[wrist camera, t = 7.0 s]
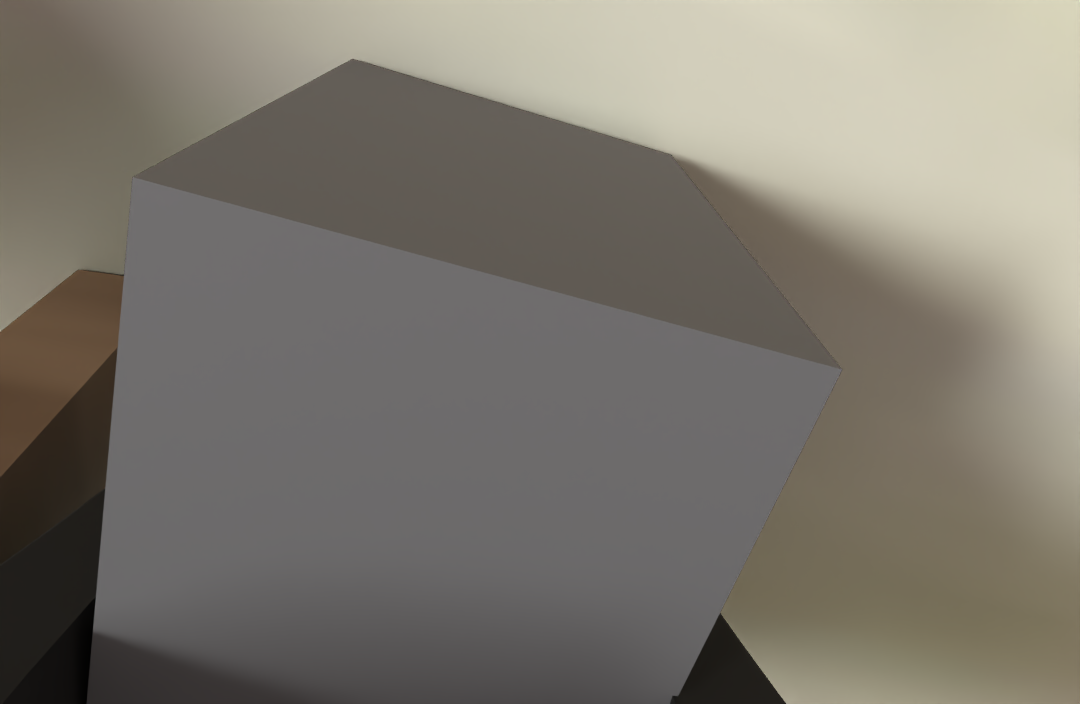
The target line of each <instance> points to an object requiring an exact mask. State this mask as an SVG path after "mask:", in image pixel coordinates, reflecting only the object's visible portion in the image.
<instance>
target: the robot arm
mask: <svg viewBox="0 0 1080 704" xmlns="http://www.w3.org/2000/svg"><path fill="white" fill-rule="evenodd" d="M104 499H105V488H104V489H103V490H102V491H100V492H99V493H98V494H96V495H95V496H94V497H92V498H91V499H90V500H88V501H87V502H86V503H84V504H83V505H82V506H80V507H79V508H78V509H76V510H75V511H74V512H72V513H71V514H69V515H68V516H67V517H65V518H64V519H63V520H61V521H60V522H59V523H57V524H56V525H55V526H53V527H52V528H50V529H49V530H48V531H46V532H45V533H44V534H42V535H41V536H40V537H38V538H37V539H35V540H34V541H33V542H31V543H30V544H29V545H27V546H26V547H24V548H23V549H22V550H20V551H19V552H17V553H16V554H14V555H13V556H12V557H10V558H9V559H7V560H6V561H5V562H3V563H2V564H0V704H87V693H88V682H89V670H90V659H91V647H92V636H93V624H94V613H95V602H96V590H97V579H98V567H99V556H100V544H101V533H102V521H103V510H104ZM670 704H786V703H785V701H784V700H783V699H782V698H781V696H780V695H779V694H778V692H777V691H776V689H775V688H774V687H773V685H772V684H771V683H770V681H769V680H768V679H767V677H766V676H765V674H764V673H763V672H762V670H761V669H760V668H759V666H758V665H757V664H756V662H755V661H754V660H753V658H752V657H751V655H750V654H749V653H748V651H747V650H746V649H745V647H744V646H743V645H742V643H741V642H740V640H739V639H738V638H737V636H736V635H735V633H734V632H733V631H732V629H731V628H730V626H729V625H728V623H727V622H726V621H725V619H724V618H723V616H722V615H721V613H720V614H719V616H718V618H717V620H716V622H715V624H714V626H713V628H712V630H711V632H710V634H709V636H708V638H707V640H706V642H705V644H704V646H703V648H702V650H701V652H700V654H699V656H698V658H697V660H696V662H695V664H694V666H693V668H692V670H691V672H690V674H689V676H688V678H687V680H686V682H685V684H684V686H683V688H682V689H681V691H680V693H679V695H678V696H672V699H671V702H670Z"/></svg>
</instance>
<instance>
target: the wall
mask: <svg viewBox="0 0 1080 704" xmlns="http://www.w3.org/2000/svg"><path fill="white" fill-rule="evenodd" d="M123 281H124V276H121V275H113V274H106V273H98V272H91V271H83V270H77V271H76V272H75V273H73V274H72V275H71V276H70V277H68V278H67V279H66V280H65V281H63V282H62V283H61V284H60V285H58V286H57V287H56V288H55V289H53V290H52V291H51V292H50V293H48V294H47V295H46V296H45V297H43V298H42V299H41V300H40V301H38V302H37V303H36V304H35V305H33V306H32V307H31V308H30V309H28V310H27V311H26V312H25V313H23V314H22V315H21V316H20V317H18V318H17V319H16V320H15V321H13V322H12V323H11V324H10V325H8V326H7V327H6V328H5V329H3V330H2V331H1V332H0V564H2V563H3V562H5V561H6V560H7V559H9V558H10V557H12V556H13V555H14V554H16V553H17V552H19V551H20V550H22V549H23V548H24V547H26V546H27V545H29V544H30V543H31V542H33V541H34V540H35V539H37V538H38V537H40V536H41V535H42V534H44V533H45V532H46V531H48V530H49V529H50V528H52V527H53V526H55V525H56V524H57V523H59V522H60V521H61V520H63V519H64V518H65V517H67V516H68V515H69V514H71V513H72V512H74V511H75V510H76V509H78V508H79V507H80V506H82V505H83V504H84V503H86V502H87V501H88V500H90V499H91V498H92V497H94V496H95V495H96V494H98V493H99V492H100V491H102V490H103V489H104V488H105V487H106V476H107V464H108V453H109V441H110V430H111V418H112V407H113V396H114V384H115V373H116V361H117V350H118V338H119V327H120V315H121V304H122V293H123Z"/></svg>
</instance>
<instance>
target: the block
mask: <svg viewBox="0 0 1080 704" xmlns="http://www.w3.org/2000/svg"><path fill="white" fill-rule="evenodd" d="M841 371H842V369H841V367H840V366H839V365H838V364H837V362H836V361H835V360H834V359H833V357H832V356H831V355H830V354H829V352H828V351H827V350H826V349H825V347H824V346H823V345H822V344H821V342H820V341H819V340H818V339H817V337H816V336H815V335H814V334H813V332H812V331H811V330H810V328H809V327H808V326H807V325H806V323H805V322H804V321H803V320H802V318H801V317H800V316H799V315H798V313H797V312H796V311H795V310H794V308H793V307H792V306H791V305H790V303H789V302H788V301H787V300H786V298H785V297H784V296H783V295H782V293H781V292H780V291H779V290H778V288H777V287H776V286H775V285H774V283H773V282H772V281H771V280H770V278H769V277H768V276H767V275H766V273H765V272H764V271H763V270H762V268H761V267H760V266H759V265H758V263H757V262H756V261H755V259H754V258H753V257H752V256H751V254H750V253H749V252H748V251H747V249H746V248H745V247H744V246H743V244H742V243H741V242H740V241H739V239H738V238H737V237H736V236H735V234H734V233H733V232H732V231H731V229H730V228H729V227H728V226H727V224H726V223H725V222H724V221H723V219H722V218H721V217H720V216H719V214H718V213H717V212H716V211H715V209H714V208H713V207H712V206H711V204H710V203H709V202H708V201H707V199H706V198H705V197H704V195H703V194H702V193H701V192H700V190H699V189H698V188H697V187H696V185H695V184H694V183H693V182H692V180H691V179H690V178H689V177H688V175H687V174H686V173H685V172H684V170H683V169H682V168H681V167H680V165H679V164H678V163H677V162H676V160H675V159H674V158H673V157H672V155H670V154H666V153H663V152H660V151H656V150H653V149H650V148H646V147H643V146H640V145H636V144H633V143H630V142H626V141H623V140H620V139H617V138H613V137H610V136H607V135H603V134H600V133H597V132H593V131H590V130H587V129H583V128H580V127H577V126H573V125H570V124H567V123H563V122H560V121H557V120H554V119H550V118H547V117H544V116H540V115H537V114H534V113H530V112H527V111H524V110H520V109H517V108H514V107H510V106H507V105H504V104H501V103H497V102H494V101H491V100H487V99H484V98H481V97H477V96H474V95H471V94H467V93H464V92H461V91H457V90H454V89H451V88H447V87H444V86H441V85H438V84H434V83H431V82H428V81H424V80H421V79H418V78H414V77H411V76H408V75H404V74H401V73H398V72H394V71H391V70H388V69H384V68H381V67H378V66H375V65H371V64H368V63H365V62H361V61H358V60H355V59H351V60H350V61H348V62H346V63H344V64H342V65H340V66H338V67H337V68H335V69H333V70H331V71H329V72H327V73H325V74H324V75H322V76H320V77H318V78H316V79H314V80H312V81H311V82H309V83H307V84H305V85H303V86H301V87H299V88H297V89H296V90H294V91H292V92H290V93H288V94H286V95H284V96H283V97H281V98H279V99H277V100H275V101H273V102H271V103H270V104H268V105H266V106H264V107H262V108H260V109H258V110H257V111H255V112H253V113H251V114H249V115H247V116H245V117H244V118H242V119H240V120H238V121H236V122H234V123H232V124H230V125H229V126H227V127H225V128H223V129H221V130H219V131H217V132H216V133H214V134H212V135H210V136H208V137H206V138H204V139H203V140H201V141H199V142H197V143H195V144H193V145H191V146H190V147H188V148H186V149H184V150H182V151H180V152H178V153H177V154H175V155H173V156H171V157H169V158H167V159H165V160H164V161H162V162H160V163H158V164H156V165H154V166H152V167H150V168H149V169H147V170H145V171H143V172H141V173H139V174H137V175H136V176H134V177H133V178H132V190H131V201H130V212H129V224H128V235H127V247H126V258H125V270H124V281H123V293H122V304H121V315H120V327H119V338H118V350H117V361H116V373H115V384H114V396H113V407H112V418H111V430H110V441H109V453H108V464H107V476H106V487H105V499H104V510H103V521H102V533H101V544H100V556H99V567H98V579H97V590H96V602H95V613H94V624H93V636H92V647H91V659H90V670H89V682H88V693H87V704H670V702H671V699H672V696H678V695H679V693H680V691H681V689H682V688H683V686H684V684H685V682H686V680H687V678H688V676H689V674H690V672H691V670H692V668H693V666H694V664H695V662H696V660H697V658H698V656H699V654H700V652H701V650H702V648H703V646H704V644H705V642H706V640H707V638H708V636H709V634H710V632H711V630H712V628H713V626H714V624H715V622H716V620H717V618H718V616H719V614H720V612H721V610H722V608H723V606H724V604H725V602H726V600H727V598H728V596H729V594H730V592H731V590H732V588H733V586H734V584H735V582H736V580H737V578H738V576H739V574H740V572H741V570H742V568H743V566H744V564H745V562H746V560H747V558H748V556H749V554H750V552H751V550H752V548H753V546H754V544H755V542H756V540H757V538H758V536H759V534H760V532H761V530H762V528H763V526H764V524H765V522H766V520H767V518H768V516H769V514H770V512H771V510H772V508H773V506H774V505H775V503H776V501H777V499H778V497H779V495H780V493H781V491H782V489H783V487H784V485H785V483H786V481H787V479H788V477H789V475H790V473H791V471H792V469H793V467H794V465H795V463H796V461H797V459H798V457H799V455H800V453H801V451H802V449H803V447H804V445H805V443H806V441H807V439H808V437H809V435H810V433H811V431H812V429H813V427H814V425H815V423H816V421H817V419H818V417H819V415H820V413H821V411H822V409H823V407H824V405H825V403H826V401H827V399H828V397H829V395H830V393H831V391H832V389H833V387H834V385H835V383H836V381H837V379H838V377H839V375H840V373H841Z"/></svg>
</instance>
